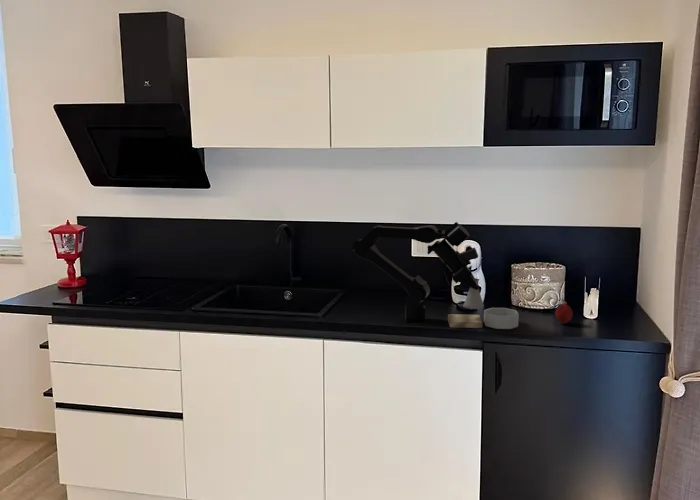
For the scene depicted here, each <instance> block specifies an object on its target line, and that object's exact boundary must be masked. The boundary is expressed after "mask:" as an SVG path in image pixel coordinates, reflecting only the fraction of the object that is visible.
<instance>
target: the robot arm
mask: <svg viewBox="0 0 700 500" xmlns="http://www.w3.org/2000/svg"><path fill="white" fill-rule="evenodd" d="M470 236H471V235H470V233H469V232H468V230H467V229H466V228H465V227H463V226H462V225H461V224H459V223H458V221H455V222H454V223H453V224H452V225H451V227H449V228H448V229H447V230H444V229H443V230H442V229H439V228H437V226H435V225H433V224H429V225H422V226H421V225H420V226H417V227H415V226H414V227H406V226H389V225H388V226H387V225H381V224H380V225H376V226H374V227H373V228H372V229H371V230H370V231H369V232H368V233H367V234H366V235H364V237H362V238H361V239H358V240H356V241H354V243H353V244H352V253H354V254H355V256H358V257H359V258H361V259H363V260H365V261H367V262H370V263H373V264H374V265H375V266H377V267H378V268H379V269H380V270H382V271H383V272H384V273H386V274H387V275H388V276H390V277H391V278H392V279H393V280H395V282H397V283H399V284H400V285H401V286H402V287H403V288H404V290H405V291H406V293H407V294H408V295H407V296H406V297H405V298H404V300H403V301H404V304H405V317H404V318H405V322H407V323H408V322H410V323H411V322H412V323H413V322H414V323H415V322H416V323H417V322H418V323H424V322H425V319H426V306H425V305H424V301H425V299H426V298H427V297H428V296H429V295H430V291H431V289H430V285H429V284H428V281H426V280H424V279H423V278H422V277H421V276H420V275H416V276H415V277H413V276H411V275H409V274H408V273H407V272H406V271H404V270H403V268H400V267H399V266H398V265H396V263H394V262H393V261H391V260H390V259H389V258H387V257H386V256H385V255H383V254H382V253H381V252H380V251H379V249H378V247H377V246H376V245H375V244H376V243H377V242H378V241H379V240H380V239H381V238H392V239H409V240H413V241H417V242H418V243H419V242H420V243H425V244H428V245H427V255H429V254H431V253H432V252H434V254H435V255H436V256H437V257H438V258H439V259H440V260H441V262H443V266H446V267H447V268H448V269H449V270H450V272H451V274H452V281H453V282H454V283H455V284H457V283H460V284H463V285H465V286H467V287H469V288H470V287H471V288H473V289H476V290H478V289H479V290H480V285H479V284H478V285H477V284H476V282H475V281H474V279H473V278H475V276H474V275H473V273H472V267H473V266H472V265H471V264H472V262H471V260H476V259H478V258H479V254H478V251H477V249H476V247H472V246H470V245H468V246H466V247H465V250H464V251H462V252H460V251H458V250H455V249H454V248H453V247H459V246H460V245H461V244H462V243H464V242H465V241H466V240H467V239H468V238H470ZM442 238H443V239H442ZM434 241H435V242H434ZM433 242H434V243H433ZM432 243H433V244H432ZM429 244H430V245H429Z"/></svg>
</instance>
